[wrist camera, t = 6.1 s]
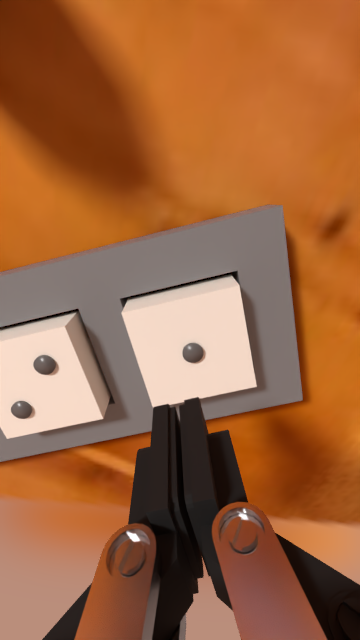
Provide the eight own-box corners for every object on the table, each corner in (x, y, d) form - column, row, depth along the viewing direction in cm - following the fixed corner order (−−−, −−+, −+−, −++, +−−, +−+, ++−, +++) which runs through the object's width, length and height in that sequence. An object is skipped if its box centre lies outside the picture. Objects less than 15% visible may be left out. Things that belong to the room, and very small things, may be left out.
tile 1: (230, 274, 17) (240, 286, 14) (247, 364, 19) (257, 388, 17) (128, 298, 17) (120, 314, 15) (155, 384, 19) (152, 410, 17)
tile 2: (78, 310, 17) (63, 327, 15) (111, 394, 20) (102, 421, 17) (-17, 333, 18) (-47, 353, 15) (25, 412, 20) (5, 441, 18)
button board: (267, 205, 17) (282, 205, 15) (289, 378, 22) (302, 400, 19) (-194, 321, 19) (-245, 337, 17) (-90, 458, 24) (-119, 486, 21)
